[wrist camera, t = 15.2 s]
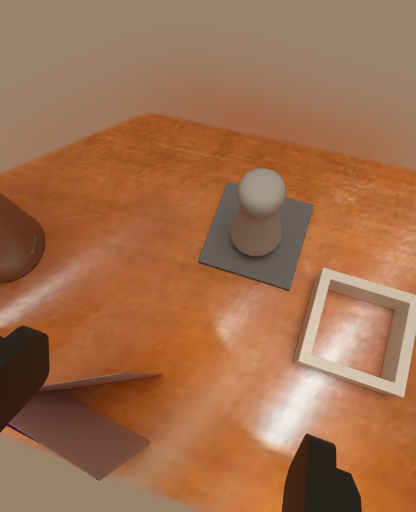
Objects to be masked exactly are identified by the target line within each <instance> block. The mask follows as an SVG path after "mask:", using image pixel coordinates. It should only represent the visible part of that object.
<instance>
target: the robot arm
mask: <svg viewBox="0 0 416 512" xmlns="http://www.w3.org/2000/svg"><path fill="white" fill-rule="evenodd" d="M43 249H44V234H43V230H42V228H41V226H40V225H39V223H38V222H37V221H36V220H35V219H34V218H32V217H31V216H30V215H28V214H27V213H26V212H25V211H23V210H22V209H21V208H19V207H18V206H17V205H16V204H14V203H13V202H12V201H11V200H9V199H8V198H7V197H5V196H4V195H3V194H2V193H0V282H9V281H12V280H16V279H18V278H20V277H22V276H24V275H25V274H27V273H28V272H29V271H30V270H31V269H32V268H33V267H34V266H35V265H36V264H37V262H38V260H39V259H40V257H41V255H42V252H43ZM48 374H49V340H48V336H47V334H45V333H42V332H40V331H37V330H34V329H32V328H29V327H27V326H21V327H19V328H17V329H16V330H15V331H13V332H12V333H11V334H10V335H8V336H7V337H6V338H3V337H1V336H0V432H1V431H2V430H3V429H4V428H5V427H6V426H7V425H8V423H9V422H10V421H11V420H12V419H13V418H14V417H15V416H16V415H17V414H18V413H19V412H20V410H21V409H22V408H23V407H24V406H25V405H26V404H27V403H28V402H29V401H30V400H31V399H32V397H33V396H34V395H35V394H36V393H37V392H38V391H39V390H40V389H41V388H42V386H43V385H44V383H45V381H46V379H47V377H48ZM282 512H362V509H361V497H360V494H359V492H358V489H357V487H356V485H355V482H354V480H353V477H352V475H351V473H348V472H345V471H343V470H340V469H338V468H336V447H335V444H333V443H331V442H328V441H326V440H323V439H320V438H318V437H315V436H312V435H310V434H306V435H305V436H304V438H303V440H302V442H301V444H300V446H299V448H298V451H297V453H296V455H295V457H294V459H293V461H292V463H291V465H290V467H289V470H288V474H287V477H286V482H285V487H284V496H283V505H282Z"/></svg>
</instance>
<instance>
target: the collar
mask: <svg viewBox="0 0 416 512" xmlns="http://www.w3.org/2000/svg"><path fill="white" fill-rule="evenodd" d="M328 290H330V291H334V292H337V293H340V294H343V295H347V296H350V297H353V298H356V299H360V300H363V301H366V302H369V303H373V304H376V305H379V306H382V307H386V308H389V309H392V310H394V313H393V318H392V323H391V328H390V333H389V338H388V342H387V347H386V352H385V357H384V362H383V367H382V372H381V377H380V378H379V377H376V376H373V375H370V374H367V373H364V372H361V371H358V370H355V369H352V368H349V367H346V366H343V365H341V364H338V363H335V362H332V361H329V360H326V359H323V358H320V357H317V356H314V355H311V353H312V349H313V345H314V341H315V337H316V333H317V329H318V326H319V322H320V318H321V314H322V310H323V306H324V303H325V299H326V295H327V291H328ZM415 334H416V295H414V294H410V293H407V292H404V291H400V290H397V289H394V288H390V287H387V286H383V285H380V284H377V283H373V282H370V281H367V280H363V279H360V278H357V277H353V276H350V275H347V274H343V273H340V272H337V271H333V270H330V269H327V268H323V269H322V270H321V271H320V272H319V274H318V275H317V276H316V278H315V282H314V285H313V289H312V293H311V296H310V300H309V304H308V307H307V311H306V315H305V318H304V322H303V326H302V329H301V333H300V337H299V340H298V344H297V348H296V351H295V355H294V359H293V363H296V364H298V365H301V366H304V367H307V368H310V369H313V370H316V371H319V372H321V373H324V374H327V375H330V376H333V377H336V378H339V379H342V380H344V381H347V382H350V383H353V384H356V385H359V386H362V387H365V388H367V389H370V390H373V391H376V392H379V393H382V394H385V395H388V396H396V397H404V393H405V388H406V383H407V377H408V372H409V366H410V361H411V356H412V350H413V345H414V339H415Z"/></svg>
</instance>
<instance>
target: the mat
mask: <svg viewBox="0 0 416 512" xmlns="http://www.w3.org/2000/svg"><path fill="white" fill-rule="evenodd" d="M237 191H238V184H234V183H231V182H227V184H226V187H225V190H224V192H223V195H222V198H221V201H220V203H219V206H218V209H217V211H216V214H215V217H214V220H213V222H212V225H211V228H210V230H209V233H208V236H207V238H206V241H205V244H204V247H203V249H202V252H201V255H200V257H199V260H198V262H199V263H202V264H205V265H208V266H212V267H215V268H218V269H221V270H224V271H228V272H231V273H234V274H237V275H240V276H243V277H247V278H250V279H253V280H256V281H259V282H263V283H266V284H269V285H272V286H275V287H278V288H282V289H285V290H288V291H289V289H290V285H291V282H292V279H293V275H294V272H295V268H296V265H297V261H298V258H299V254H300V251H301V248H302V244H303V241H304V237H305V234H306V230H307V227H308V223H309V220H310V217H311V213H312V210H313V206H314V205H312V204H308V203H304V202H301V201H297V200H293V199H290V198H286V197H285V201H284V204H283V205H282V206H281V208H280V209H279V210H278V211H279V216H280V221H281V227H282V234H281V240H280V242H279V243H278V245H277V246H276V247H275V249H274V250H273V251H271V252H269V253H268V254H266V255H264V256H250V255H247V254H244V253H241V252H240V250H239V249H238V248H237V247H236V246H235V245H234V244H233V241H232V238H231V235H230V229H231V224H232V221H233V219H234V217H235V215H236V213H237V211H238V209H239V208H240V204H239V201H238V198H237Z"/></svg>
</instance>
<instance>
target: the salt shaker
mask: <svg viewBox="0 0 416 512" xmlns="http://www.w3.org/2000/svg"><path fill="white" fill-rule="evenodd" d="M285 196H286V186H285V184H284V181H283V178H282V177H281V176H280V175H279V174H277V173H276V172H275V171H273V170H270V169H267V168H259V169H254V170H252V171H250V172H248V173H246V174H245V175H244V176H243V178H242V179H241V180H240V182H239V185H238V191H237V198H238V201H239V204H240V208H239V209H238V211H237V213H236V215H235V217H234V219H233V221H232V224H231V229H230V235H231V238H232V241H233V244H234V245H235V246H236V247H237V248H238V249H239V250H240V252H241V253H244V254H247V255H250V256H264V255H266V254H268V253H269V252H271V251H273V250H274V249H275V247H276V246H277V245H278V243H279V242H280V240H281V234H282V227H281V221H280V216H279V211H278V210H279V209H280V208H281V206H282V205H283V204H284V201H285Z"/></svg>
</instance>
